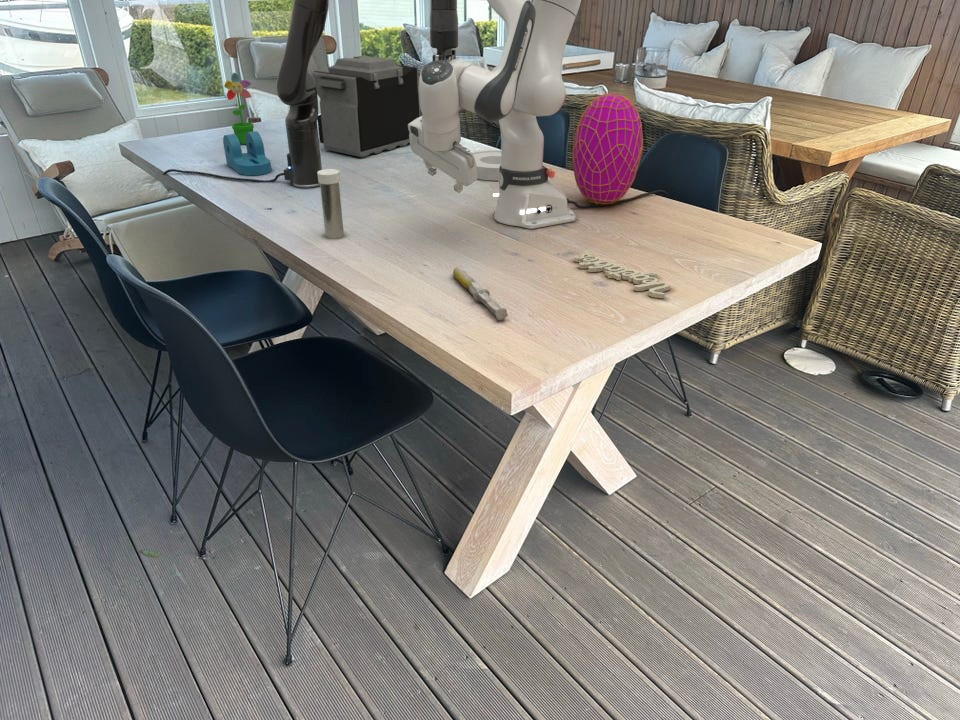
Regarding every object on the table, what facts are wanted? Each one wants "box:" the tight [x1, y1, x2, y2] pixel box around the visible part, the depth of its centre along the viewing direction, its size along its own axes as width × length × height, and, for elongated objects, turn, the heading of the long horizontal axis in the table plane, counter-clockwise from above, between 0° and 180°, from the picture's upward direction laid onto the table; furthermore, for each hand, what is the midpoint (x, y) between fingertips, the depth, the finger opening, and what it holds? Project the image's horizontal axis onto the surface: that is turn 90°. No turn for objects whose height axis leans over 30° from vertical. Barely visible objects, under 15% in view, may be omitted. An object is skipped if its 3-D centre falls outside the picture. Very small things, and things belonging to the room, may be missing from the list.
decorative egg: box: [571, 92, 644, 205], centre depth 194 cm, size 19×19×30 cm
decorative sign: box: [574, 252, 671, 299], centre depth 155 cm, size 26×1×10 cm
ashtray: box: [470, 149, 501, 182], centre depth 229 cm, size 23×23×4 cm
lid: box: [317, 168, 341, 184], centre depth 168 cm, size 5×5×2 cm
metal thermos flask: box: [319, 182, 345, 240], centre depth 172 cm, size 5×5×16 cm
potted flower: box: [223, 72, 255, 145], centre depth 254 cm, size 9×8×25 cm
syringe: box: [452, 266, 509, 321], centre depth 145 cm, size 25×4×3 cm, turn 21°
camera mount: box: [222, 131, 272, 176], centre depth 226 cm, size 18×10×10 cm, turn 35°
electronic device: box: [310, 55, 421, 159], centre depth 250 cm, size 37×22×30 cm, turn 144°
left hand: (444, 92), depth 191 cm, fingers open, 8 cm apart
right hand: (445, 182), depth 170 cm, fingers open, 8 cm apart
